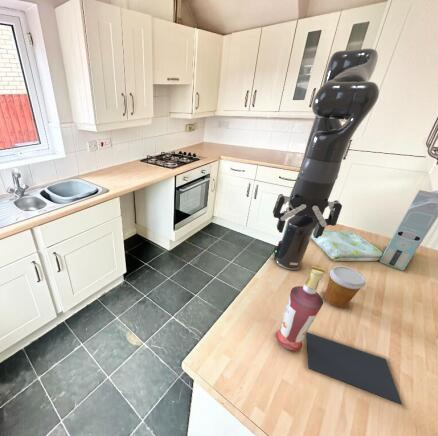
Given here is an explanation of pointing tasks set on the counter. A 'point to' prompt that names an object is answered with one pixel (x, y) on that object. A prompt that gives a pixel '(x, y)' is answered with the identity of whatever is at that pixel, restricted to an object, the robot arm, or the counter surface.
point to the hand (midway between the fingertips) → (297, 233)
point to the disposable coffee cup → (343, 285)
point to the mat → (351, 366)
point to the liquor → (300, 311)
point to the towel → (347, 246)
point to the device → (411, 230)
